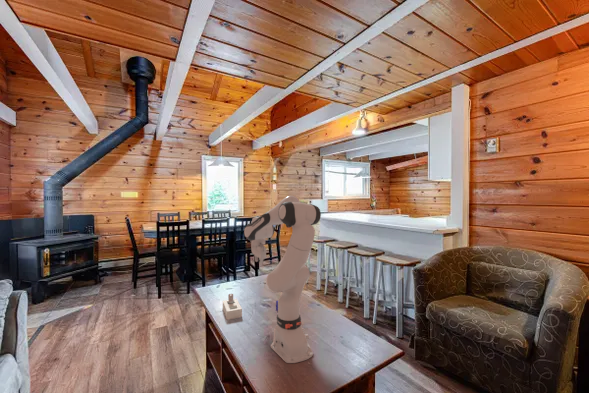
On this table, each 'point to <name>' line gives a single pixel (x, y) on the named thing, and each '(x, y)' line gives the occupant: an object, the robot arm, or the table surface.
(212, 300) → the table surface
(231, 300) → the peg
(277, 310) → the cable clip
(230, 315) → the hole block
